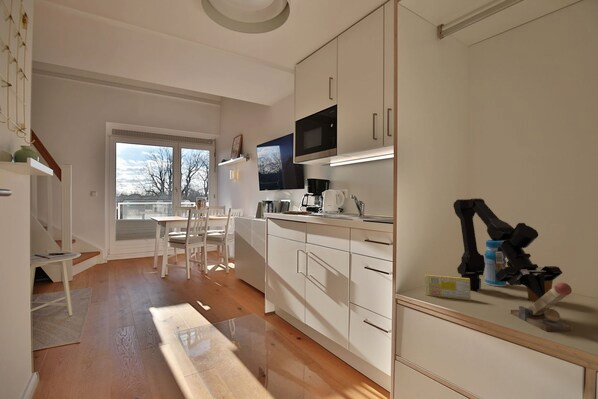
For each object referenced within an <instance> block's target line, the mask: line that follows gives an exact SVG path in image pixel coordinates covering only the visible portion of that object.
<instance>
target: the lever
mask: <svg viewBox="0 0 598 399" xmlns="http://www.w3.org/2000/svg"><path fill="white" fill-rule="evenodd" d="M571 293H572V287H571V286H570V285H569V284H568V283H566V282H563V281H561V282H557V283H556V284H555V285H554V286H552V289H550V290H549V291H548V292H547V293H545V294H544V295H543V296H542V297H541V298H539V299H538V300H537V301H533V303H532V304H531V305H529V306H528V307H527V308H528V312H529V315H543V313H544V312H545V311H546V310H547V309H552V307H553V306H555V305H556V304H558V303H559V302H560V301H562V300H563V299H564V298H566V296H569V295H570V294H571Z"/></svg>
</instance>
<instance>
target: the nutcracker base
mask: <svg viewBox="0 0 598 399" xmlns="http://www.w3.org/2000/svg"><path fill="white" fill-rule="evenodd" d="M510 314H511V315H513V316H515V317H517V318H518V319H521V320H522V321H524V322H527V323H529V324H530V325H533V326H535V327H537V328H539V329H540V330H543V331H545V332H566V331H567V332H570V331H572V326H570V325H569V324H566V323H564V322H562V321H559V320H560V319H561V315H560V313H559V312H558V311H557V310H556V309H553V308H549V309H547V310H546V311H545V312H544V313H543V315H529V312H528V307H525V306H523V305H519V306H518V309H510Z"/></svg>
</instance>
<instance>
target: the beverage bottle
mask: <svg viewBox="0 0 598 399" xmlns="http://www.w3.org/2000/svg"><path fill="white" fill-rule="evenodd" d="M503 242H504V241H493V240H492V239H486V241H485V245H486V248H487V249H486V250H485V252H484V254H483V256H484V262H485V269H484V283H485V284H487V285H489V286H493V287H506V286H507V282H498V280H497V279H496V273H497V272H498V271H499V270H500V269H501V268H502V267H507V257H506V256H505V254H504V253H503V252H498V251H497V249H498V247H499V244H502V243H503Z"/></svg>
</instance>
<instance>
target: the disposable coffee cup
mask: <svg viewBox="0 0 598 399" xmlns="http://www.w3.org/2000/svg"><path fill="white" fill-rule="evenodd" d="M542 268H544V267H541V266H538V268H536V270H541V269H542ZM553 281H554V280H553ZM553 281H545V282H544V285H545V293H547V292H548V291H549V290H550V289H552V288H553ZM526 291H527V292H526V293H527V297H528V299H529V300H530V301H533V302H536V301H537V300H538V299H539V297H538V296H537V295H536V294H534V293H533V292H532V291H531V290H530V289H529V288H527V287H526Z"/></svg>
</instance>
